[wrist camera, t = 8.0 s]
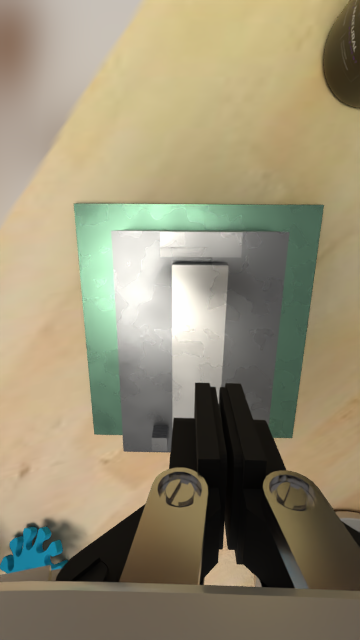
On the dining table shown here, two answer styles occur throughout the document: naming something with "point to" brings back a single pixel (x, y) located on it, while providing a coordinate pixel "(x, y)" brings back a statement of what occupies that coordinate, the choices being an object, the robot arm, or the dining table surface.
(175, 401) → the steel strap
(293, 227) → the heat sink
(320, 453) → the dining table surface
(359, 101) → the supplement bottle
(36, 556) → the gear
